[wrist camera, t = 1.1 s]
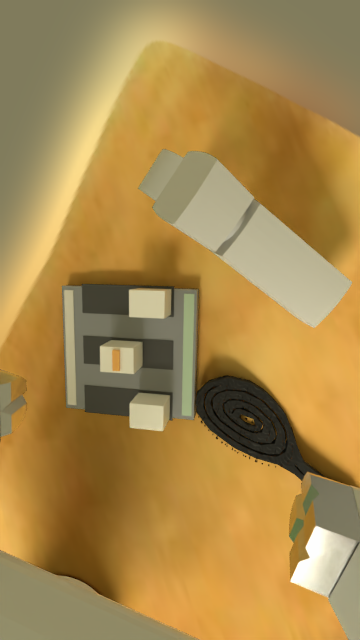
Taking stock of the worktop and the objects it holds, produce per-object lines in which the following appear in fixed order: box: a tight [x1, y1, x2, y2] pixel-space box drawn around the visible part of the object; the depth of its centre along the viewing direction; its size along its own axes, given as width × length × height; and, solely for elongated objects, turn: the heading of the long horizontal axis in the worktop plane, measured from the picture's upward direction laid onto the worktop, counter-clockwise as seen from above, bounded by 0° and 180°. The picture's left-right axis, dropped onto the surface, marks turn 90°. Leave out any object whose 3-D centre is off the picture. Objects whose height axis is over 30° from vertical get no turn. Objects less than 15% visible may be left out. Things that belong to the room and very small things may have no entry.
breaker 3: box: [130, 393, 170, 431], centre depth 41 cm, size 3×4×4 cm
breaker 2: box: [129, 288, 171, 319], centre depth 39 cm, size 3×4×4 cm
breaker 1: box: [100, 340, 143, 374], centre depth 41 cm, size 3×4×4 cm
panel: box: [62, 284, 199, 420], centre depth 43 cm, size 17×17×2 cm
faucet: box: [138, 149, 352, 328], centre depth 35 cm, size 6×16×20 cm
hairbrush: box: [195, 375, 326, 480], centre depth 41 cm, size 8×4×25 cm
